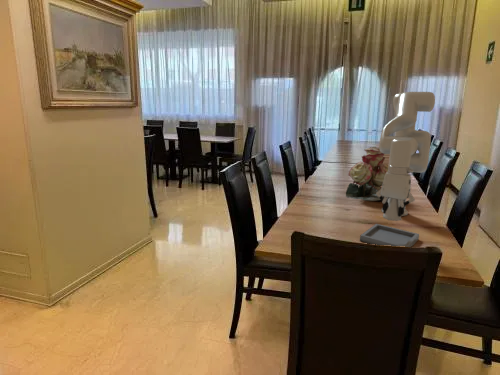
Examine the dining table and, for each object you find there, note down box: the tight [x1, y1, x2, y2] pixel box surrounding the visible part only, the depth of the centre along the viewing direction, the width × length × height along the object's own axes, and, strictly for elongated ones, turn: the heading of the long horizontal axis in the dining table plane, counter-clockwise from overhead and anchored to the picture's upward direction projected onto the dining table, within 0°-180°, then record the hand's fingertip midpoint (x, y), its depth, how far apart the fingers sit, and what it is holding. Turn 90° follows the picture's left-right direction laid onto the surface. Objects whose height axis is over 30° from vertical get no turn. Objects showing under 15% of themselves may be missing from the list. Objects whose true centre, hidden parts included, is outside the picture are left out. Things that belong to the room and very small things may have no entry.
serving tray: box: [359, 223, 420, 248], centre depth 139 cm, size 18×18×2 cm
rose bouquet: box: [345, 146, 389, 202], centre depth 200 cm, size 26×29×30 cm
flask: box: [382, 198, 403, 222], centre depth 136 cm, size 7×7×10 cm
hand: (392, 213), depth 137 cm, fingers closed on flask, 5 cm apart
